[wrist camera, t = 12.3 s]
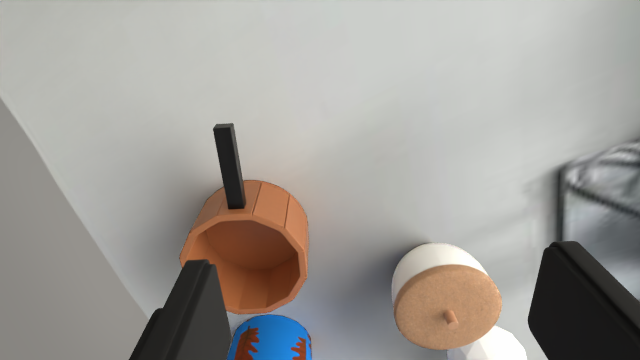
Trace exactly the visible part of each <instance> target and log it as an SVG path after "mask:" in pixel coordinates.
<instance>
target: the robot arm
mask: <svg viewBox="0 0 640 360" xmlns="http://www.w3.org/2000/svg"><path fill="white" fill-rule="evenodd" d="M528 325H529V328H530V331H531V332H532V334H533V336H534V337H535V339H536V341H537V342H538V344H539V345H540V347H541V349H542V350H543V352H544V353H545V355H546V357H547V358H548V360H640V302H639V301H638V300H637V299H636V298H635V297H634V296H633V295H632V294H631V293H630V292H629V291H628V290H627V289H626V288H625V287H623V286H622V285H621V284H620V283H619V282H618V281H617V280H616V279H615V278H614V277H613V276H612V275H611V274H610V273H609V272H608V271H607V270H606V269H605V268H604V267H603V266H602V265H601V264H600V263H599V262H598V261H597V260H596V259H595V258H594V257H593V256H592V255H591V254H590V253H589V252H587V251H586V250H585V249H584V248H583V247H582V246H581V245H580V244H579V243H578V242H576V241H564V242H553V243H551V244H550V246H549V247H548V248H545V250H544V252H543V256H542V260H541V265H540V269H539V273H538V277H537V282H536V286H535V290H534V294H533V299H532V303H531V307H530V311H529V316H528ZM230 341H231V332H230V327H229V322H228V318H227V313H226V309H225V304H224V300H223V295H222V291H221V286H220V281H219V277H218V272H217V268H216V265H215V264H210V262H209V260H207V259H200V260H188V261H186V263H185V264H184V266H183V268H182V270H181V273H180V275H179V277H178V279H177V281H176V283H175V285H174V287H173V289H172V291H171V293H170V295H169V297H168V299H167V301H166V303H165V305H164V307H163V308H158V309H157V310H155V311H154V313H153V314H152V316H151V318H150V320H149V322H148V324H147V326H146V328H145V330H144V331H143V333H142V336H141V337H140V339H139V341H138V343H137V345H136V347H135V349H134V351H133V353H132V355H131V357H130V359H129V360H226V359H227V355H228V351H229V347H230Z"/></svg>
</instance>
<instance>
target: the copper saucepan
mask: <svg viewBox="0 0 640 360" xmlns="http://www.w3.org/2000/svg"><path fill="white" fill-rule="evenodd" d="M213 131H214V136H215V142H216V147H217V152H218V157H219V163H220V168H221V173H222V178H223V184H224V187H222V188H221V189H219V190H218V191H217V192H215V193H214V194H213V195H212V196H211V197H209V198H208V199H207V201H206V202H205V204H204V206H203V208H202V210H201V212H200V214H199V215H198V217H197V219H196V221H195V223H194V225H193V227H192V228H191V230H190V232H189V235H188V237H187V239H186V242H185V244H184V246H183V249H182V251H181V254H180V257H179V258H180V262H181V266H182V268H183V266H184V264H185V263H186V261H188V260H200V259H207V260H209V262H210V264H215V265H216V268H217V272H218V277H219V281H220V286H221V291H222V295H223V300H224V304H225V309H226V311H229V312H232V313H234V314H237V313H238V314H258V313H267V312H271V311H273V310H275V309H277V308H279V307H281V306H283V305H285V304H286V303H288V302H290V301H292V300H293V299H294V298H295V297H296V295H297V293H298V292H299V290H300V289H301V287H302V285H303V284H304V282H305V280H306V279H307V271H308V247H309V236H308V222H307V216H306V214H305V212H304V210H303V208H302V207H301V205H300V204H299V202H298V201H297V200H296V199H295V198H294V197H293V196H292V195H291V194H290V193H288V192H287V191H285V190H284V189H282V188H280V187H278V186H276V185H274V184H271V183H267V182H263V181H256V180H246V181H243V179H242V173H241V167H240V161H239V155H238V149H237V143H236V137H235V130H234V124H233V123H230V124H216V126H215V127H214V128H213Z"/></svg>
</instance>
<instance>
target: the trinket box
mask: <svg viewBox="0 0 640 360" xmlns="http://www.w3.org/2000/svg"><path fill="white" fill-rule="evenodd" d="M391 291H392V303H393V308H394V317H395V321H396V325H397V327H398V329H399V331H400V332H401V333H402V335H403V336H404V337H405V338H407V339H408V340H409V341H411V342H412V343H414V344H416V345H418V346H421V347H424V348H429V349H435V350H446V349H454V348H459V347H462V346H466V345H468V344H470V343H473V342H475V341H476V340H478V339H480V338H481V337H483V336H484V335H485V334H486V333H488V332H489V331H490V330H491V329H492V327H493V326H494V325H495V323H496V322H497V320H498V318H499V315H500V312H501V308H502V299H501V295H500V292H499V290H498V288H497V287H496V285H495V283H494V282H493V281H492V280H491V279H490V277H489V276H488V274H487V273H486V271H485V270H484V268H483V267H482V266H481V265H480V264H479V263H478V262H477V260H476V259H475V258H473V257H472V256H471V255H470V254H469V253H467V252H466V251H464V250H462V249H460V248H458V247H456V246H453V245H450V244H445V243H428V244H423V245H420V246H418V247H416V248H414V249H413V250H411V251H410V252H408V253H407V254H406V255H405V256H404V257H403V258H402V259H401V261H400V262H399V263H398V265H397V267H396V269H395V272H394V275H393V278H392V287H391Z"/></svg>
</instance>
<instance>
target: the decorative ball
mask: <svg viewBox="0 0 640 360" xmlns="http://www.w3.org/2000/svg"><path fill="white" fill-rule="evenodd" d="M447 357H448V360H527V358H526V354H525V350H524V348H523V347H522V346H521V344H520V343H519V342H518V341H517V340H516V339H515V337H514V336H513V335H512V334H511V333H509V332H507V331H505V330H503V329H501V328H499V327H497V326H495V325H494V326H493V327H492V329H491V330H490V331H489V332H488V333H486V334H485V335H484V336H483V337H481V338H480V339H478V340H476V341H475V342H473V343H470V344H468V345H466V346H462V347H459V348H454V349H448V351H447Z"/></svg>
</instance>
